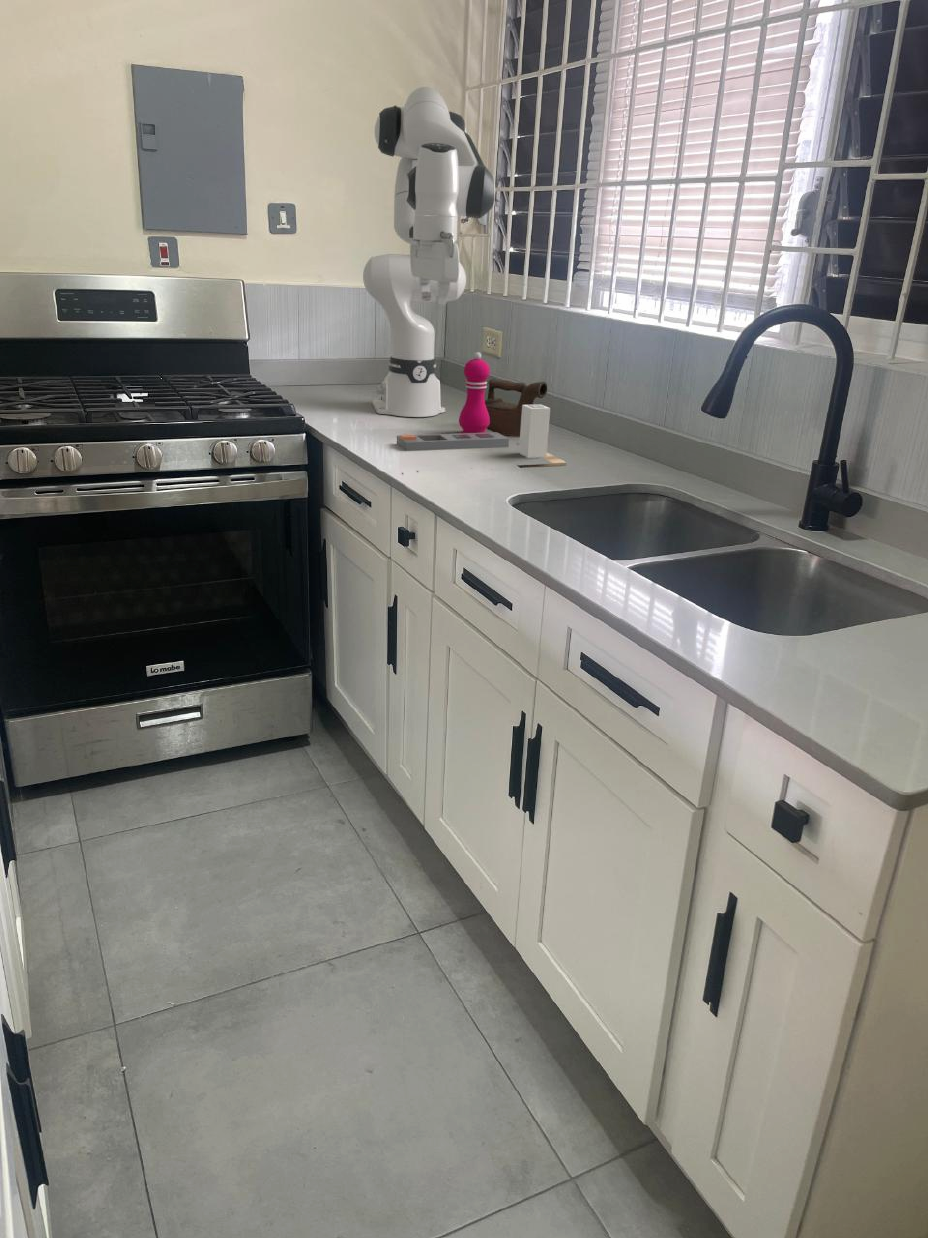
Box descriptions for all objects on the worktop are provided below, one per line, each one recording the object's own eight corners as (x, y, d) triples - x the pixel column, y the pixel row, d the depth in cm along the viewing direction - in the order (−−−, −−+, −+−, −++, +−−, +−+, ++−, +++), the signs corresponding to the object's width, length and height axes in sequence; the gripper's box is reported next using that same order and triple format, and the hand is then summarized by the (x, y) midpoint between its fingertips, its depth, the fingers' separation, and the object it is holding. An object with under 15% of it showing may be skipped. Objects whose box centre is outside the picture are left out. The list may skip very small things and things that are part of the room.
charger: (518, 455, 204) (522, 403, 200) (537, 454, 205) (541, 403, 201) (527, 460, 200) (531, 407, 196) (546, 459, 202) (550, 407, 197)
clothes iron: (529, 441, 222) (533, 383, 216) (476, 429, 231) (479, 374, 226) (548, 436, 227) (552, 380, 222) (496, 425, 237) (499, 371, 231)
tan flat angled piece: (499, 455, 206) (499, 452, 205) (544, 453, 210) (544, 450, 209) (520, 467, 196) (520, 464, 196) (566, 465, 200) (566, 462, 200)
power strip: (396, 449, 207) (396, 432, 206) (527, 443, 218) (528, 428, 217) (406, 456, 201) (406, 439, 200) (540, 450, 212) (541, 434, 211)
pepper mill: (485, 444, 216) (490, 355, 208) (455, 441, 217) (459, 352, 209) (491, 437, 223) (496, 351, 215) (461, 435, 224) (465, 349, 216)
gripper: (468, 233, 183) (465, 307, 188) (433, 230, 200) (431, 298, 206) (438, 231, 181) (436, 306, 186) (405, 229, 198) (404, 298, 204)
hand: (433, 302), depth 196 cm, fingers open, 8 cm apart
